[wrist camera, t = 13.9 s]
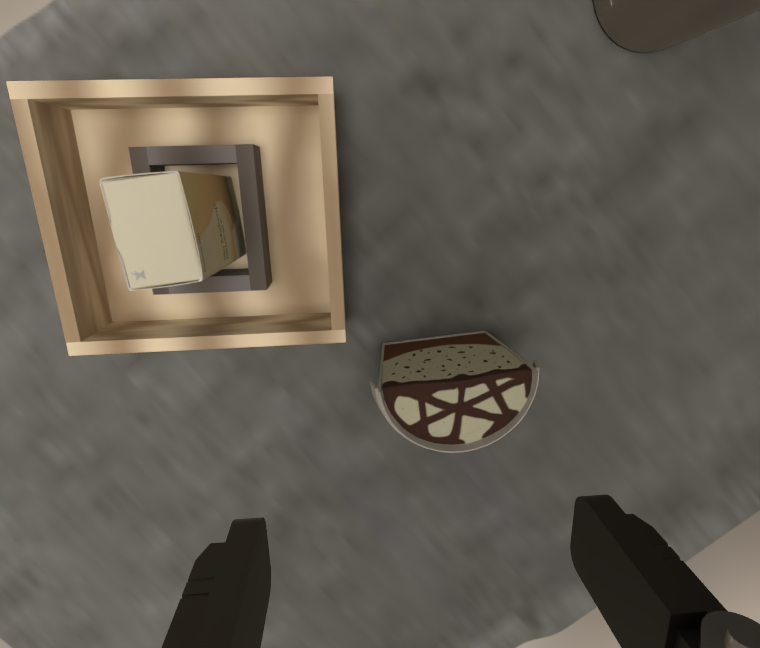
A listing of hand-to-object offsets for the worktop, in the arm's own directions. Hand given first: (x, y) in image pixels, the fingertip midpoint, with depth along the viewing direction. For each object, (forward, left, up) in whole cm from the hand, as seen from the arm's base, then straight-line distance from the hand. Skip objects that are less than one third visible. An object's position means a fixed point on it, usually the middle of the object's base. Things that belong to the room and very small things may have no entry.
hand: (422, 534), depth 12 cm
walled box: (+12, -6, -30) cm, 33 cm away
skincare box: (+12, -6, -29) cm, 32 cm away
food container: (-6, +8, -30) cm, 32 cm away
